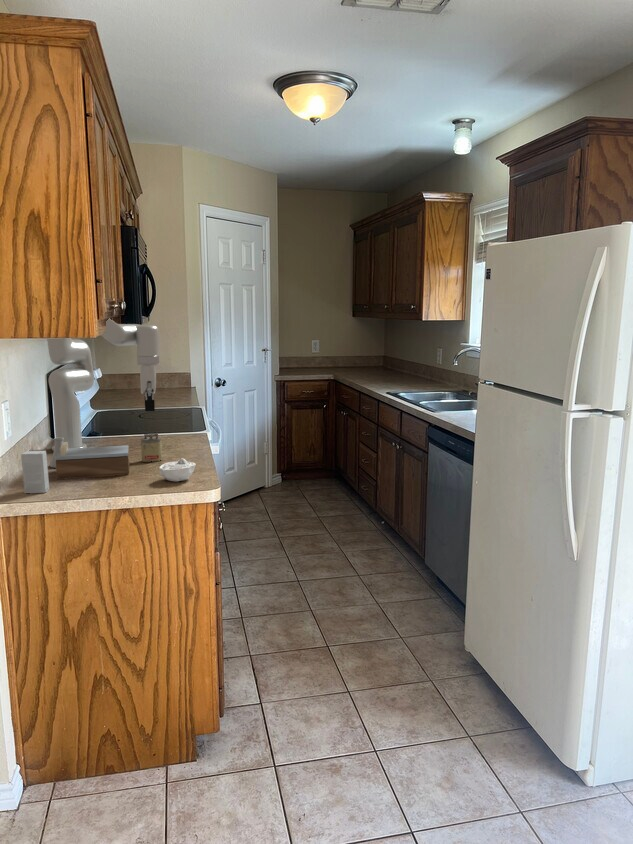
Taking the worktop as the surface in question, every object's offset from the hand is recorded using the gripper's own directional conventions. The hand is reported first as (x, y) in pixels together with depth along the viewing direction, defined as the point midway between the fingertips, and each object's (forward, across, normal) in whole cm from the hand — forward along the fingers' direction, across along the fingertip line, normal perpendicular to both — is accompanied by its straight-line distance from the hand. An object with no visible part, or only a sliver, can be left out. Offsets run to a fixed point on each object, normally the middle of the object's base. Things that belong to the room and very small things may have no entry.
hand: (149, 409), depth 221 cm
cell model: (+19, +30, +8) cm, 37 cm away
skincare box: (+19, +32, -34) cm, 50 cm away
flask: (+20, 0, -30) cm, 36 cm away
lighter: (+19, 0, 0) cm, 19 cm away
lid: (+13, +12, -19) cm, 26 cm away
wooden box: (+19, +12, -18) cm, 29 cm away
